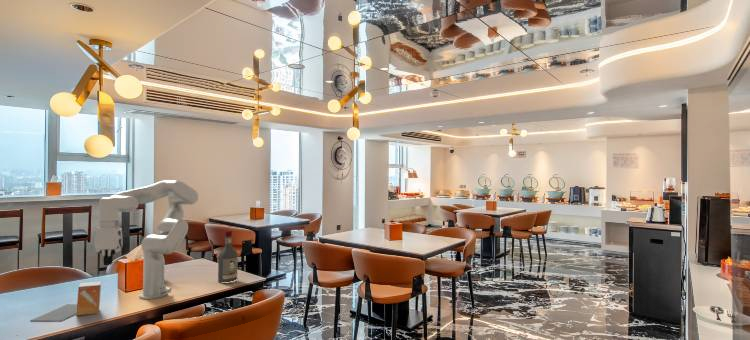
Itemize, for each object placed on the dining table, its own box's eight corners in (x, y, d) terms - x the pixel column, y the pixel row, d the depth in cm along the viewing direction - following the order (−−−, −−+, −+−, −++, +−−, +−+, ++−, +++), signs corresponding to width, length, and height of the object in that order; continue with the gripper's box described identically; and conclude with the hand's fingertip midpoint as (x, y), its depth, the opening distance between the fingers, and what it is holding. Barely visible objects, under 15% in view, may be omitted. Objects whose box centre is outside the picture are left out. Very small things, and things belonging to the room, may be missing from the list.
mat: (94, 305, 182) (94, 304, 182) (61, 321, 162) (61, 320, 162) (67, 305, 181) (67, 304, 181) (30, 321, 161) (30, 320, 161)
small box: (76, 316, 167) (78, 286, 167) (77, 311, 172) (79, 282, 172) (98, 313, 171) (100, 284, 172) (99, 308, 177) (101, 280, 177)
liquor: (216, 281, 223) (217, 230, 224) (231, 278, 230) (232, 229, 231) (224, 284, 217) (225, 232, 218) (238, 281, 224) (239, 230, 225)
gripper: (130, 223, 176) (129, 262, 176) (98, 223, 176) (97, 262, 176) (120, 225, 169) (119, 266, 169) (86, 225, 168) (85, 266, 168)
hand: (108, 264), depth 172 cm, fingers closed
